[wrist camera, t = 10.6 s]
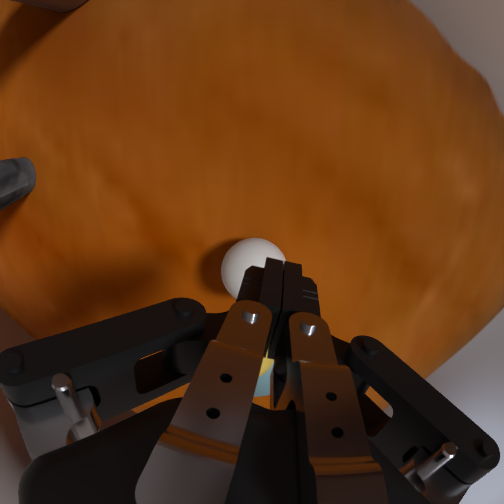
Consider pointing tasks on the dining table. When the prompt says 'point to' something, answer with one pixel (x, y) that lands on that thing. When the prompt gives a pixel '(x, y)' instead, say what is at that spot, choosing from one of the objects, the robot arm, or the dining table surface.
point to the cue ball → (246, 261)
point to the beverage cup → (15, 180)
